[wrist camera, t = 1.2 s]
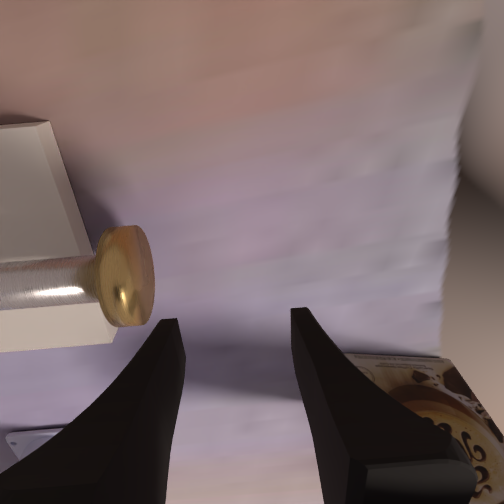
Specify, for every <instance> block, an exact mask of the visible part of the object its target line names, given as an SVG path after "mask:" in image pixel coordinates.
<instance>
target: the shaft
mask: <svg viewBox="0 0 504 504" xmlns="http://www.w3.org/2000/svg"><path fill="white" fill-rule="evenodd" d="M154 293H155V276H154V265H153V259H152V254H151V249H150V246H149V243H148V240H147V237H146V235H145V233H144V232H143V230H142V229H141V228H140V227H139V226H137V225H132V226H120V227H110V228H107V229H106V230H105V231H104V232H103V234H102V235H101V237H100V240H99V243H98V246H97V251H96V255H86V256H74V257H62V258H50V259H38V260H26V261H14V262H2V263H0V311H2V310H14V309H26V308H38V307H49V306H61V305H73V304H85V303H97V302H99V303H100V307H101V309H102V312H103V314H104V316H105V318H106V319H107V321H108V322H109V323H110V324H111V325H112V326H114V327H127V326H139V325H144V324H146V323H147V321H148V320H149V318H150V316H151V312H152V309H153V303H154Z"/></svg>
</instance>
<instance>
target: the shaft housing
mask: <svg viewBox="0 0 504 504" xmlns="http://www.w3.org/2000/svg"><path fill="white" fill-rule="evenodd" d="M86 255H94V254H93V251H92V248H91V245H90V242H89V238H88V235H87V232H86V229H85V226H84V223H83V220H82V217H81V214H80V211H79V208H78V205H77V202H76V199H75V196H74V193H73V190H72V187H71V184H70V181H69V178H68V175H67V172H66V169H65V166H64V163H63V160H62V157H61V154H60V151H59V148H58V145H57V142H56V139H55V136H54V133H53V130H52V127H51V124H50V121H44V122H32V123H20V124H8V125H0V263H2V262H14V261H26V260H38V259H50V258H62V257H74V256H86ZM117 330H118V327H114V326H112V325H111V324H110V323H109V322H108V321H107V319H106V318H105V316H104V314H103V312H102V309H101V307H100V303H99V302H97V303H85V304H73V305H61V306H49V307H38V308H26V309H14V310H2V311H0V352H12V351H24V350H35V349H47V348H59V347H71V346H82V345H94V344H106V343H112V342H113V339H114V337H115V335H116V332H117Z"/></svg>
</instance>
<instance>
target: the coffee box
mask: <svg viewBox="0 0 504 504" xmlns="http://www.w3.org/2000/svg"><path fill="white" fill-rule="evenodd" d="M343 354H344V355H345V356H346V357H347V358H348V359H349V360H350V361H351V362H352V363H353V364H354V365H355V366H356V367H357V368H358V369H359V370H360V371H361V372H362V373H364V374H365V375H366V376H367V377H368V378H369V379H370V380H371V381H373V382H374V383H375V384H376V385H377V386H379V387H380V388H381V389H382V390H383V391H385V392H386V393H388V394H389V395H390V396H392V397H393V398H394V399H396V400H397V401H398V402H400V403H401V404H402V405H404V406H405V407H407V408H408V409H410V410H411V411H413V412H414V413H416V414H417V415H419V416H421V417H422V418H424V419H426V420H427V421H429V422H431V423H433V424H434V425H436V426H438V427H440V428H441V429H443V430H445V431H447V432H448V433H450V434H452V436H453V437H454V438H455V440H456V441H457V442H458V444H459V445H460V447H461V448H462V449H463V451H464V452H465V454H466V455H467V457H468V458H469V460H470V462H471V463H472V465H473V467H474V468H475V470H476V472H477V476H478V481H477V486H476V489H475V491H474V493H473V496H472V498H471V500H470V502H469V504H504V436H503V434H502V433H501V432H500V430H499V429H498V427H497V426H496V425H495V423H494V422H493V420H492V418H491V417H490V416H489V414H488V413H487V412H486V410H485V409H484V407H483V406H482V404H481V403H480V402H479V400H478V399H477V398H476V396H475V395H474V393H473V392H472V390H471V389H470V388H469V386H468V385H467V383H466V382H465V380H464V379H463V377H462V376H461V375H460V373H459V372H458V370H457V369H456V367H455V366H454V364H453V363H452V362H451V360H449V359H443V358H422V357H405V356H386V355H368V354H351V353H343Z"/></svg>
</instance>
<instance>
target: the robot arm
mask: <svg viewBox="0 0 504 504" xmlns="http://www.w3.org/2000/svg"><path fill="white" fill-rule="evenodd" d="M291 349H292V355H293V362H294V368H295V374H296V377H297V381H298V385H299V388H300V392H301V396H302V399H303V403H304V407H305V410H306V414H307V417H308V421H309V425H310V429H311V433H312V437H313V442H314V448H315V453H316V459H317V464H318V470H319V476H320V482H321V488H322V493H323V499H324V504H469V502H470V500H471V498H472V496H473V493H474V491H475V489H476V486H477V481H478V476H477V472H476V470H475V468H474V467H473V465H472V463H471V462H470V460H469V458H468V457H467V455H466V454H465V452H464V451H463V449H462V448H461V447H460V445H459V444H458V442H457V441H456V440H455V438H454V437H453V436H452V434H450V433H448V432H447V431H445V430H443V429H441V428H440V427H438V426H436V425H434V424H433V423H431V422H429V421H427V420H426V419H424V418H422V417H421V416H419V415H417V414H416V413H414V412H413V411H411V410H410V409H408V408H407V407H405V406H404V405H402V404H401V403H400V402H398V401H397V400H396V399H394V398H393V397H392V396H390V395H389V394H388V393H386V392H385V391H383V390H382V389H381V388H380V387H379V386H377V385H376V384H375V383H374V382H373V381H371V380H370V379H369V378H368V377H367V376H366V375H365V374H364V373H362V372H361V371H360V370H359V369H358V368H357V367H356V366H355V365H354V364H353V363H352V362H351V361H350V360H349V359H348V358H347V357H346V356H345V355H344V354H343V353H342V351H341V350H340V349H339V348H338V347H337V346H336V345H335V343H334V342H333V341H332V340H331V339H330V337H329V336H328V335H327V334H326V333H325V331H324V330H323V329H322V327H321V326H320V325H319V323H318V322H317V320H316V319H315V318H314V316H313V315H312V313H311V311H310V310H309V309H308V308H307V307H303V308H291ZM185 362H186V356H185V351H184V347H183V342H182V338H181V333H180V329H179V324H178V320H177V318H173V319H161V320H160V321H159V323H158V324H157V325H156V327H155V328H154V330H153V331H152V333H151V334H150V335H149V337H148V338H147V340H146V341H145V342H144V344H143V345H142V347H141V348H140V349H139V351H138V352H137V353H136V355H135V356H134V357H133V358H132V360H131V361H130V362H129V364H128V365H127V366H126V367H125V368H124V369H123V371H122V372H121V373H120V374H119V375H118V377H117V378H116V379H115V380H114V381H113V382H112V383H111V385H110V386H109V387H108V388H107V389H106V390H105V391H104V392H103V393H102V394H101V395H100V396H99V397H98V398H97V399H96V400H95V401H94V402H93V403H92V404H91V405H90V406H89V407H88V408H87V409H85V410H84V411H83V412H82V413H81V414H80V415H79V416H78V417H76V418H75V419H74V420H73V421H72V422H71V423H70V424H68V425H67V426H66V427H65V428H57V429H46V430H34V431H22V432H11V433H8V434H7V436H6V438H5V440H6V442H7V443H8V445H9V446H10V448H11V449H12V451H13V452H14V454H15V455H16V456H17V458H18V459H19V461H18V462H17V463H16V464H14V465H13V466H11V467H10V468H8V469H7V470H5V471H4V472H2V473H1V474H0V504H165V501H166V490H167V479H168V470H169V460H170V451H171V445H172V439H173V434H174V429H175V424H176V419H177V414H178V410H179V405H180V400H181V395H182V390H183V385H184V376H185Z"/></svg>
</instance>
